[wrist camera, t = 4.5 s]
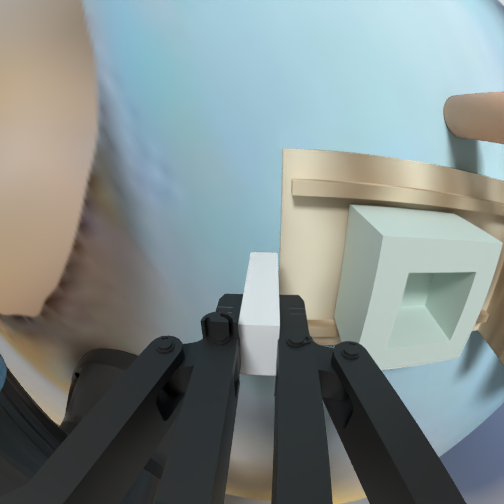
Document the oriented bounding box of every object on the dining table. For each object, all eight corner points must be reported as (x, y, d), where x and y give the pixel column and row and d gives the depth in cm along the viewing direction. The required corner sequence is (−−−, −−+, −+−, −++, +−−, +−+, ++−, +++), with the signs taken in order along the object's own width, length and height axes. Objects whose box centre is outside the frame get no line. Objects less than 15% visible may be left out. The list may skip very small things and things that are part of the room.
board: (275, 335, 22) (275, 420, 14) (282, 148, 16) (293, 157, 9) (483, 321, 20) (523, 372, 13) (521, 186, 15) (585, 215, 7)
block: (333, 316, 19) (349, 372, 14) (349, 203, 16) (382, 235, 11) (427, 312, 18) (458, 358, 13) (453, 213, 15) (503, 242, 10)
